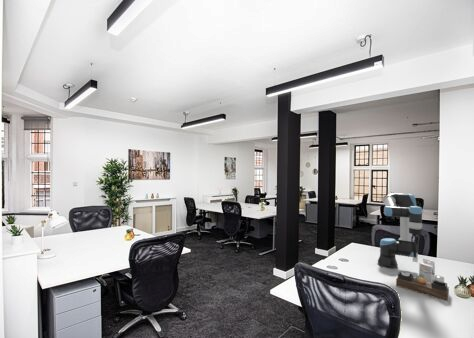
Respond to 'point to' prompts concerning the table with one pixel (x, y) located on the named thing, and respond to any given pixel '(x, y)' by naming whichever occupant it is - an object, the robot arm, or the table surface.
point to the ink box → (427, 270)
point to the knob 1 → (405, 274)
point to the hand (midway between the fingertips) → (415, 261)
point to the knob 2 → (439, 279)
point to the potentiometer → (421, 280)
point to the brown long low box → (423, 286)
